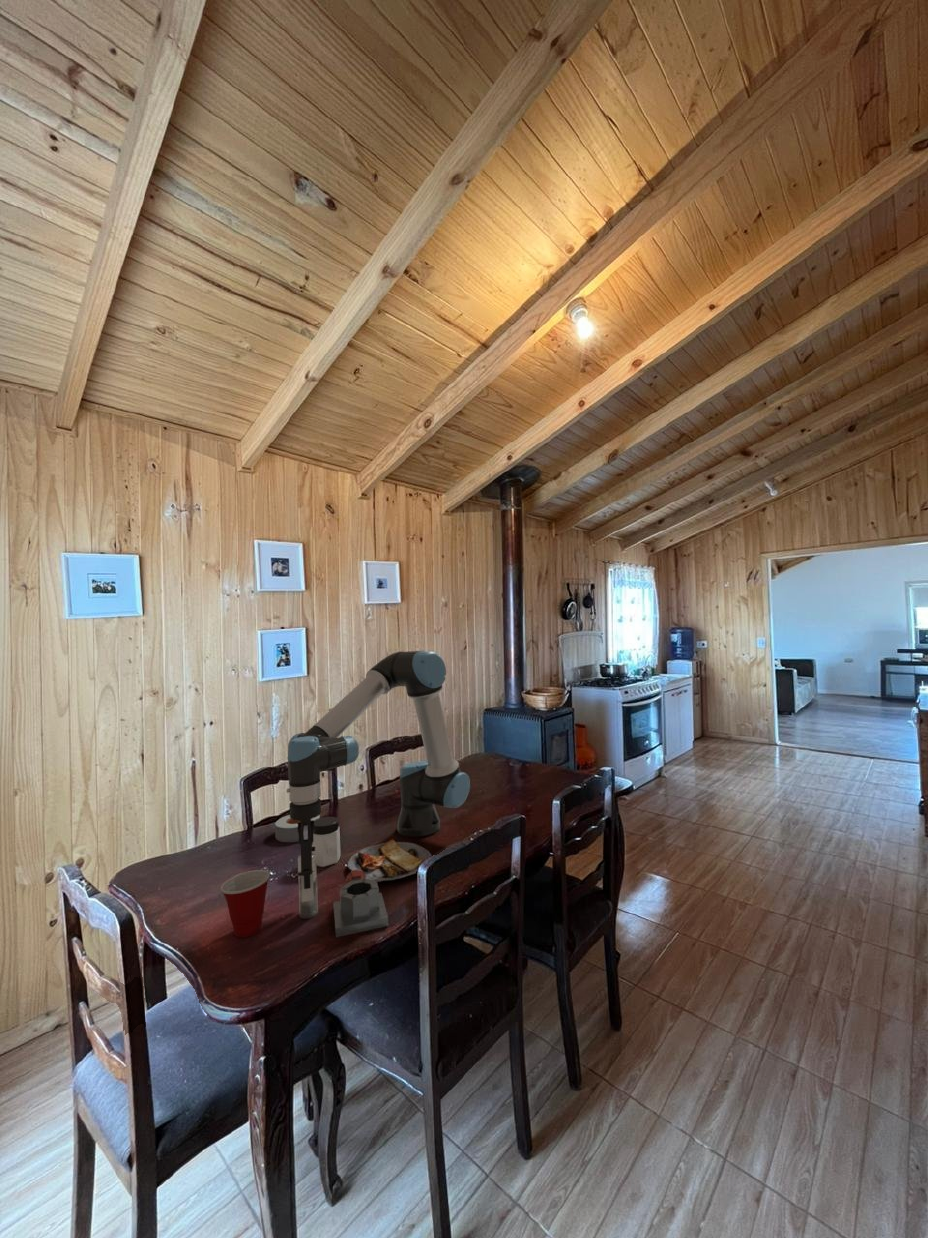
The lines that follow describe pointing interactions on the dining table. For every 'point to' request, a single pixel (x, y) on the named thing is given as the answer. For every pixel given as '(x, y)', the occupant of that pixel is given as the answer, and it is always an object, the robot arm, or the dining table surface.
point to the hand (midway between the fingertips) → (308, 889)
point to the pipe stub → (311, 907)
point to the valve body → (359, 906)
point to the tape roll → (288, 829)
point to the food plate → (388, 860)
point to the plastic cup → (246, 900)
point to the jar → (326, 841)
